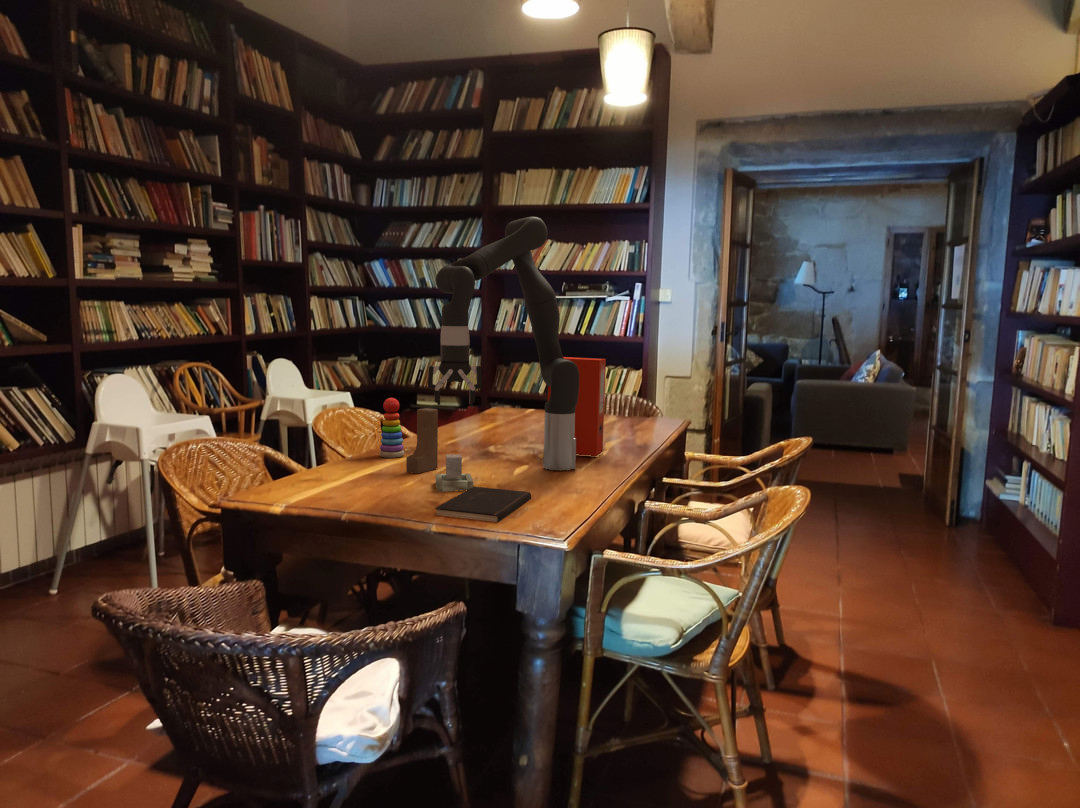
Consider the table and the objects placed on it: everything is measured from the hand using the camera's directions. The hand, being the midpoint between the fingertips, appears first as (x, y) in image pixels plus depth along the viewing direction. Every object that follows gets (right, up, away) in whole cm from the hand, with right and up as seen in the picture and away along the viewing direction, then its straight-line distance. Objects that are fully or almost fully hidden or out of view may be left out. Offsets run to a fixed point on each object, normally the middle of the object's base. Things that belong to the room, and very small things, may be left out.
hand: (454, 404), depth 202 cm
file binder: (+34, -17, +53) cm, 65 cm away
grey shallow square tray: (-1, -22, +3) cm, 22 cm away
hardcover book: (+9, -26, -16) cm, 32 cm away
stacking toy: (-25, -17, +42) cm, 52 cm away
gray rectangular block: (-1, -22, +3) cm, 22 cm away
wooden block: (-12, -20, +22) cm, 32 cm away
